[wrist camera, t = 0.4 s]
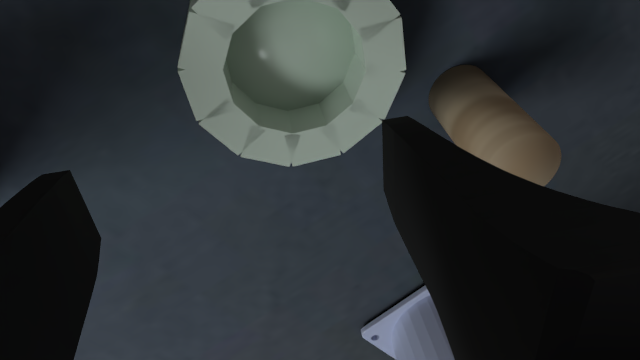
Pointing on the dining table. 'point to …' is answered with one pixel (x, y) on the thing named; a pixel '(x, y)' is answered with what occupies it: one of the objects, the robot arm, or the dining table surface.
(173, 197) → the dining table surface
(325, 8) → the sage green bowl
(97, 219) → the dining table surface
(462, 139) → the dowel
